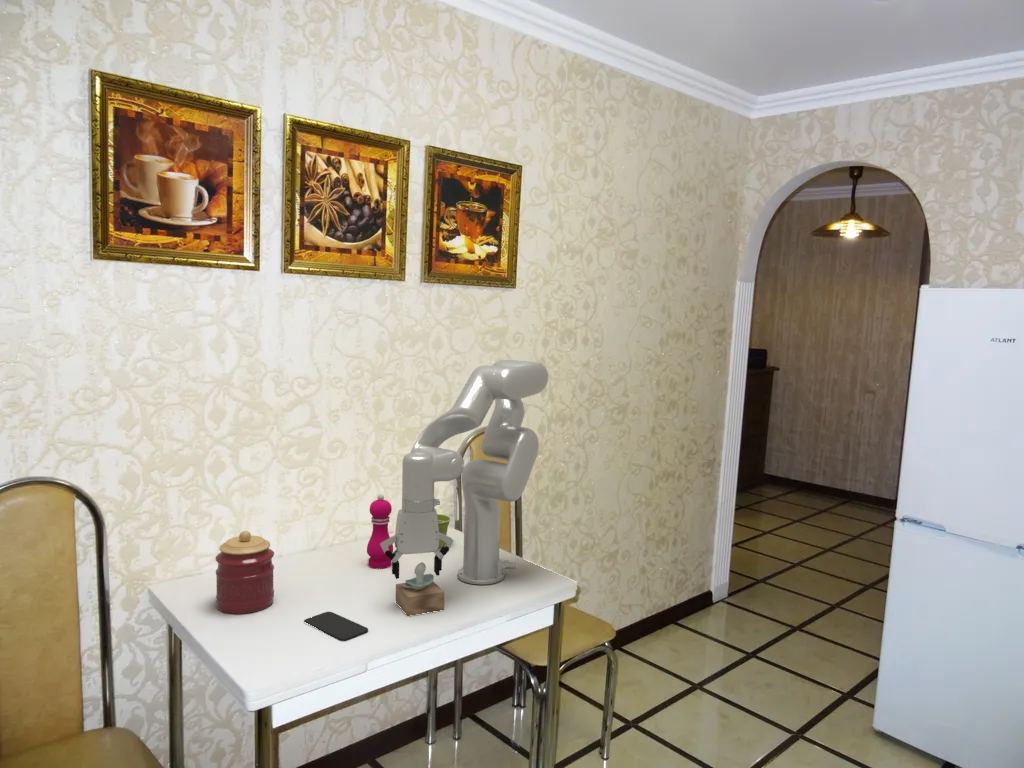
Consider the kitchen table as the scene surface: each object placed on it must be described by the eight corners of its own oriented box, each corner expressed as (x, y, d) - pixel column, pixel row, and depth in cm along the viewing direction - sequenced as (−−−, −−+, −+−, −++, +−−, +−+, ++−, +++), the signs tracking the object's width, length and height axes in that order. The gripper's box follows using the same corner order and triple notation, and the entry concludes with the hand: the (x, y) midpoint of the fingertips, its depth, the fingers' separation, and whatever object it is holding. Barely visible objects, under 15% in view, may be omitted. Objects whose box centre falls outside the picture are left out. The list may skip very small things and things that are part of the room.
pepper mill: (398, 564, 201) (399, 493, 199) (380, 571, 195) (381, 498, 193) (379, 558, 205) (380, 489, 203) (361, 565, 199) (361, 494, 197)
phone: (329, 610, 167) (370, 629, 158) (329, 614, 168) (370, 632, 158) (301, 620, 162) (343, 640, 152) (301, 623, 162) (343, 643, 152)
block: (430, 598, 178) (430, 579, 178) (443, 612, 170) (444, 591, 170) (395, 604, 174) (395, 584, 174) (407, 618, 166) (407, 597, 166)
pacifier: (397, 587, 172) (413, 593, 168) (396, 562, 172) (413, 567, 167) (420, 579, 177) (437, 585, 173) (420, 555, 177) (436, 560, 173)
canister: (215, 597, 174) (214, 525, 173) (271, 590, 179) (271, 521, 178) (216, 618, 162) (215, 542, 161) (276, 610, 167) (276, 536, 166)
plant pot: (455, 544, 220) (456, 516, 219) (440, 553, 211) (441, 524, 211) (429, 539, 224) (429, 512, 223) (413, 548, 215) (413, 519, 214)
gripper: (450, 499, 177) (449, 567, 178) (379, 503, 172) (378, 572, 173) (457, 507, 170) (455, 577, 171) (383, 511, 165) (382, 584, 166)
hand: (416, 575), depth 172 cm, fingers open, 9 cm apart
